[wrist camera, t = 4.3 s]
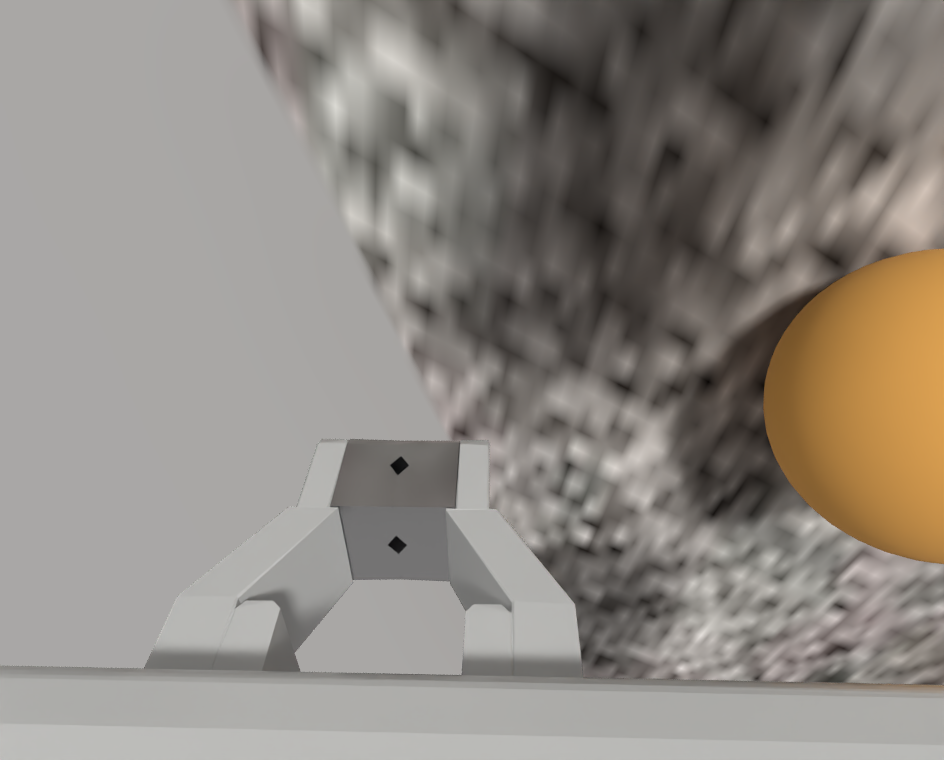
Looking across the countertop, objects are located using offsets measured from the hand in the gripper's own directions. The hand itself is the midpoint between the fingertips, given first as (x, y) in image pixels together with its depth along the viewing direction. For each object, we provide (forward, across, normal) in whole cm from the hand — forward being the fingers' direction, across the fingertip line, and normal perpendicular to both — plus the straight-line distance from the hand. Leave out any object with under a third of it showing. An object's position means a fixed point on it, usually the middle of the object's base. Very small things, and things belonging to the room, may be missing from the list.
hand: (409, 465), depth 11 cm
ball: (+2, -10, 0) cm, 10 cm away
